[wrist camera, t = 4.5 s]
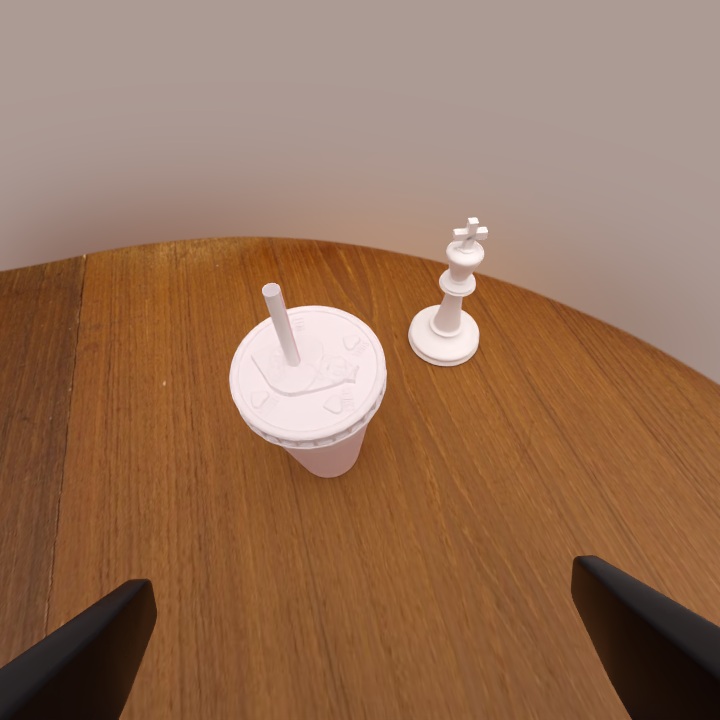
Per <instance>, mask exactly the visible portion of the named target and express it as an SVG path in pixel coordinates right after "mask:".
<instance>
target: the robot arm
mask: <svg viewBox="0 0 720 720" xmlns="http://www.w3.org/2000/svg"><path fill="white" fill-rule="evenodd" d="M571 594H572V598H573V601H574V603H575V606H576V608H577V610H578V612H579V614H580V617H581V619H582V621H583V623H584V625H585V627H586V630H587V632H588V634H589V636H590V638H591V640H592V643H593V645H594V647H595V649H596V651H597V653H598V656H599V658H600V660H601V662H602V664H603V666H604V669H605V671H606V673H607V675H608V677H609V679H610V681H611V683H612V685H613V687H614V688H615V690H616V692H617V694H618V696H619V698H620V699H621V701H622V703H623V705H624V706H625V708H626V710H627V712H628V713H629V715H630V717H631V719H632V720H720V627H718V626H717V625H715V624H713V623H711V622H710V621H708V620H706V619H705V618H703V617H701V616H699V615H698V614H696V613H694V612H692V611H691V610H689V609H687V608H685V607H684V606H682V605H680V604H679V603H677V602H675V601H673V600H672V599H670V598H668V597H666V596H665V595H663V594H661V593H659V592H658V591H656V590H654V589H653V588H651V587H649V586H647V585H646V584H644V583H642V582H640V581H639V580H637V579H635V578H633V577H632V576H630V575H628V574H627V573H625V572H623V571H621V570H620V569H618V568H616V567H614V566H613V565H611V564H609V563H607V562H606V561H604V560H602V559H600V558H599V557H597V556H593V555H589V556H577V557H575V558H574V560H573V568H572V581H571ZM156 619H157V608H156V603H155V598H154V592H153V587H152V583H151V581H150V580H148V579H132V580H128V581H127V582H125V583H124V584H122V585H121V586H119V587H118V588H116V589H115V590H113V591H112V592H111V593H109V594H108V595H106V596H105V597H103V598H102V599H100V600H99V601H98V602H96V603H95V604H93V605H92V606H90V607H89V608H87V609H86V610H85V611H83V612H82V613H80V614H79V615H77V616H76V617H74V618H73V619H72V620H70V621H69V622H67V623H66V624H64V625H63V626H61V627H60V628H59V629H57V630H56V631H54V632H53V633H51V634H50V635H48V636H47V637H46V638H44V639H43V640H41V641H40V642H38V643H37V644H35V645H34V646H33V647H31V648H30V649H28V650H27V651H25V652H24V653H22V654H21V655H20V656H18V657H17V658H15V659H14V660H12V661H11V662H9V663H8V664H7V665H5V666H4V667H2V668H1V669H0V720H119V717H120V715H121V713H122V711H123V709H124V706H125V704H126V701H127V699H128V696H129V694H130V691H131V688H132V685H133V683H134V680H135V677H136V675H137V672H138V669H139V667H140V664H141V661H142V658H143V656H144V653H145V650H146V648H147V645H148V642H149V640H150V637H151V634H152V631H153V629H154V626H155V623H156Z"/></svg>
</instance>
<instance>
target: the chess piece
mask: <svg viewBox="0 0 720 720" xmlns="http://www.w3.org/2000/svg"><path fill="white" fill-rule="evenodd" d="M478 225H479V222H478V219H477V218H468V222H467V226H466V228H464V229H454V230H453V235H452V237H453V240H454V241H453V242H451V243H450V244H449V246H448V247H447V251H446V254H447V259H448V263H449V269H448V270H446V271H445V272H444V273H443V274H442V275H441V277H440V279H439V285H440V287H441V289H442V290H443V291H444V292H445V296H444V298H443V301H442V303H441V305H435V306H431V307H428V308H425V309H423V310H422V311H420V312H419V313H418V314H417V315H416V316H415V317H414V319H413V320H412V323H411V325H410V328H409V332H408V338H409V343H410V345H411V347H412V349H413V350H414V352H415V353H416V354H417V355H418V356H419V357H420V358H422V359H423V360H425V361H427V362H429V363H431V364H434V365H438V366H455V365H459V364H461V363H464V362H466V361H467V360H469V359H470V358H471V357H472V356H473V355H474V353H475V352H476V350H477V347H478V343H479V330H478V327H477V324H476V323H475V321H474V320H473V318H472V317H471V316H470V315H469V314H467V313H466V312H464V311H463V310H461V306H462V298H463V297H464V296H467V295H469V294H471V293H472V292H473V291H474V289H475V286H476V282H475V278H474V276H473V275H472V272H473V271H474V269H475V268H476V267H477V266H478V265H479V264H480V262H482V260H483V258H484V250H483V248H482V246H481V245H480V244H478V243H477V242H475V241H474V240H483V239H487V235H488V230H487V227H478Z"/></svg>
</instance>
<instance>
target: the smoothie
mask: <svg viewBox="0 0 720 720" xmlns="http://www.w3.org/2000/svg"><path fill="white" fill-rule="evenodd" d="M262 292H263V295H264V298H265V301H266V304H267V307H268V310H269V313H270V315H271V317H269V318H267V319H266V320H264V321H263V322H261V323H260V324H259V325H257V326H256V327H255V328H254V329H253V330H252V331H250V333H249V334H248V335H247V336H246V337H245V338H244V340H243V341H242V342H241V344H240V345H239V347H238V349H237V351H236V353H235V355H234V358H233V360H232V364H231V369H230V389H231V393H232V397H233V400H234V402H235V404H236V406H237V408H238V409H239V412H240V415H241V416H242V418H243V419H244V420H245V422H246V423H247V424H248V426H249V427H250V428H251V429H252V430H253V431H254V432H255V433H257V434H258V435H260V436H261V437H262V438H264V439H265V440H267V441H268V442H271V443H274V444H277V445H279V446H282V447H283V448H284V449H285V450H286V451H287V452H289V453H290V454H291V455H292V456H293V457H294V458H295V459H296V460H297V461H298V462H300V463H301V464H302V465H303V466H304V467H305V468H306V469H307V470H308V471H310V472H311V473H312V474H314V475H316V476H319V477H324V478H332V477H337V476H340V475H342V474H344V473H346V472H347V471H348V470H349V469H350V468H351V467H352V466H353V465H354V464H355V462H356V460H357V458H358V455H359V452H360V448H361V445H362V442H363V438H364V435H365V431H366V428H367V425H368V422H369V421H370V420H371V418H372V417H373V415H374V414H375V413H376V411H377V410H378V408H379V407H380V404H381V401H382V399H383V396H384V393H385V390H386V376H387V371H386V365H385V357H384V352H383V349H382V346H381V344H380V342H379V340H378V338H377V337H376V335H375V334H374V333H373V331H372V330H371V329H370V328H369V327H368V326H367V325H366V324H365V323H364V322H363V321H361V320H360V319H358V318H357V317H355V316H353V315H352V314H349V313H347V312H345V311H342V310H339V309H336V308H331V307H325V306H303V307H297V308H292V309H288V310H286V307H285V304H284V300H283V297H282V293H281V290H280V287H279V285H277V284H275V283H270V284H267V285H265V286H264V287H263V289H262Z"/></svg>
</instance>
